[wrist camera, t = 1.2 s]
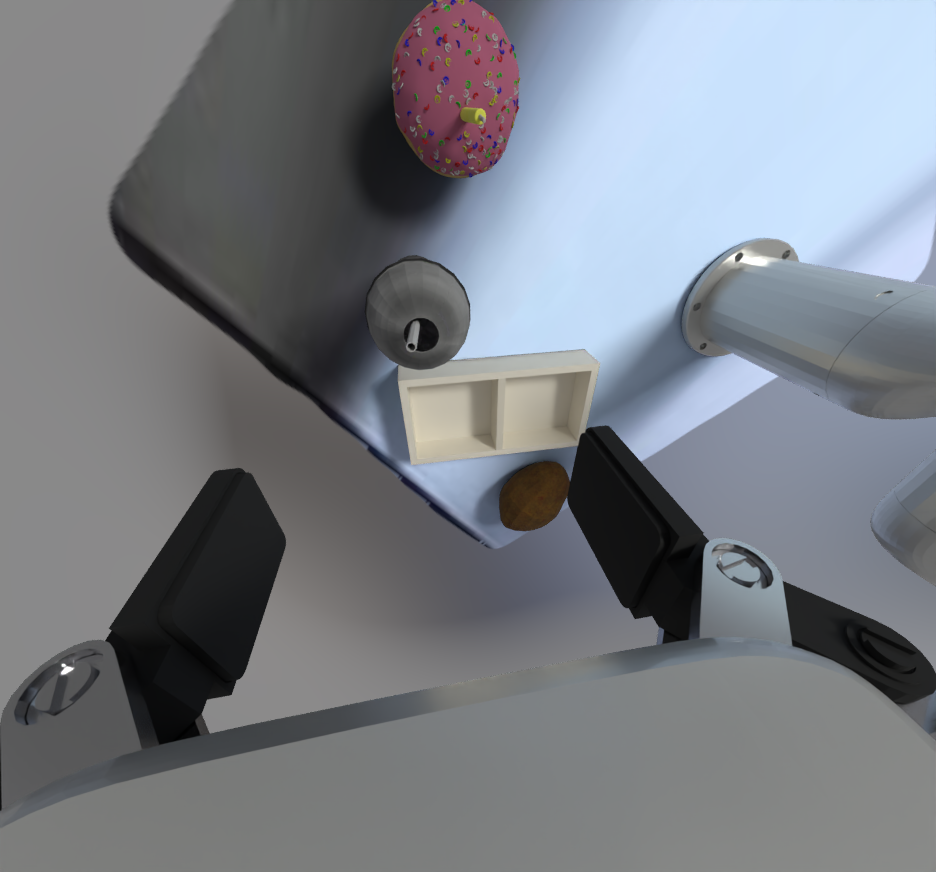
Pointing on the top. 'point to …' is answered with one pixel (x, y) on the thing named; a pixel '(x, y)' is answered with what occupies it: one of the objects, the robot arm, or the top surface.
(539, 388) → the cup carrier
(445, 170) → the cupcake
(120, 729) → the robot arm
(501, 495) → the potato
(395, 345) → the beverage cup
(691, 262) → the top surface
